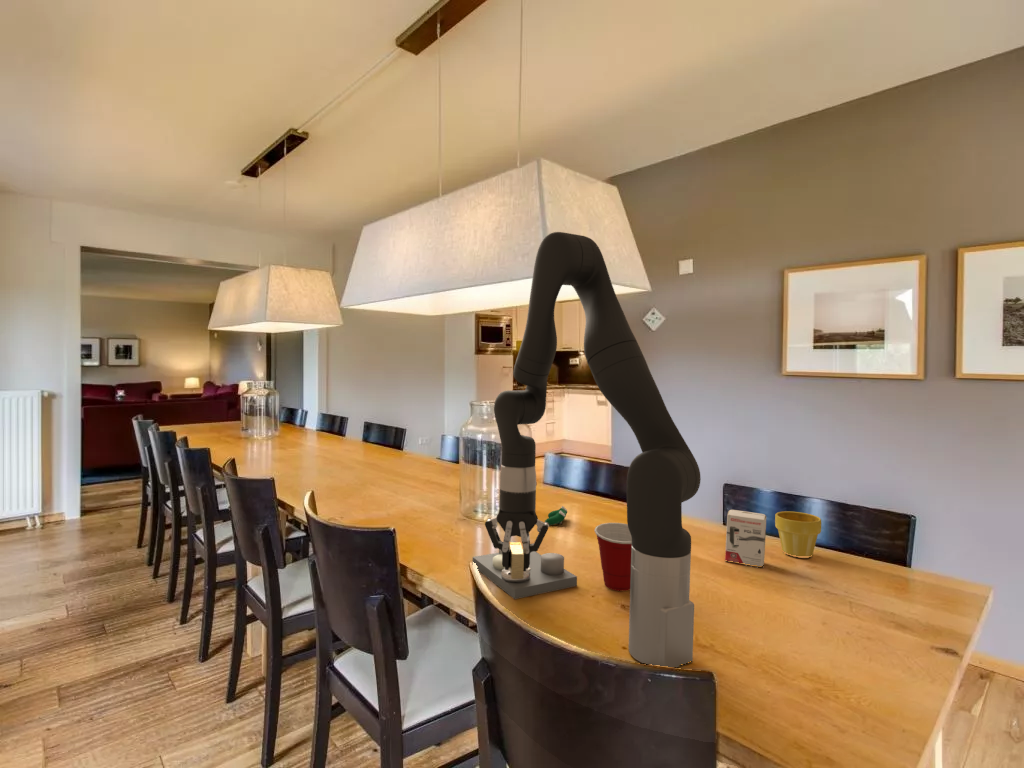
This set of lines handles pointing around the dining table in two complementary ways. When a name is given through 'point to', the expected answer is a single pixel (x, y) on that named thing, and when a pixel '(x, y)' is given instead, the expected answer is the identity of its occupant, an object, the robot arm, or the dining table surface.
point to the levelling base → (543, 574)
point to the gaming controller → (556, 516)
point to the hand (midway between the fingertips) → (516, 568)
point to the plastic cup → (615, 554)
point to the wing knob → (516, 565)
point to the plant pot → (798, 532)
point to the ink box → (745, 537)
